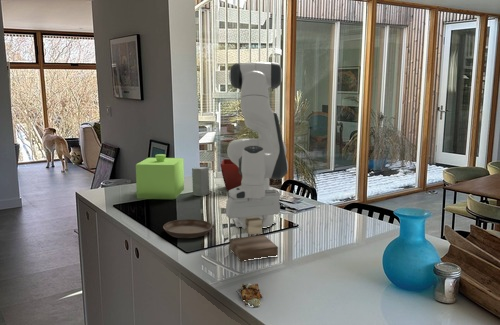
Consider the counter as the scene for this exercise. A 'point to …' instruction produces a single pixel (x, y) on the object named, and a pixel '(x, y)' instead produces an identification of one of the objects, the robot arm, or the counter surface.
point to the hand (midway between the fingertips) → (253, 227)
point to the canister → (160, 177)
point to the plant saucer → (187, 228)
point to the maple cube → (253, 225)
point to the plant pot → (230, 174)
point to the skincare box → (200, 181)
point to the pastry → (250, 294)
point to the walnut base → (253, 247)
